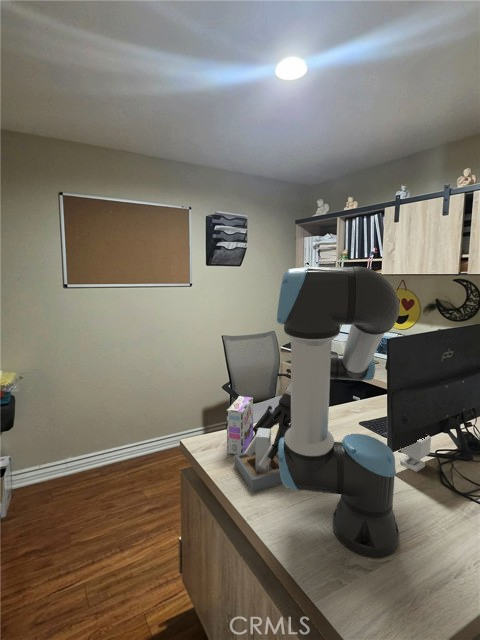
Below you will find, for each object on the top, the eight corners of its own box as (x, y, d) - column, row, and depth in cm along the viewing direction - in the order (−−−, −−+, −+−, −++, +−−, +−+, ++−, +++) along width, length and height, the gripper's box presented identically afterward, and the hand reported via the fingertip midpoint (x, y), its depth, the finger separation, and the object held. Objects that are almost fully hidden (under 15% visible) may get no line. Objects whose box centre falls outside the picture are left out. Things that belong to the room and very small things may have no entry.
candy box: (242, 457, 113) (242, 412, 111) (226, 454, 115) (225, 409, 113) (254, 437, 126) (253, 396, 124) (239, 435, 128) (238, 395, 125)
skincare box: (269, 474, 101) (269, 438, 99) (255, 472, 101) (255, 436, 100) (271, 462, 106) (271, 428, 105) (258, 461, 107) (257, 427, 105)
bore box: (294, 479, 101) (294, 468, 100) (252, 492, 95) (252, 480, 95) (272, 456, 113) (272, 445, 113) (234, 466, 108) (234, 455, 107)
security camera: (429, 465, 107) (431, 436, 105) (417, 472, 103) (419, 443, 102) (409, 456, 112) (411, 428, 111) (398, 463, 108) (400, 434, 107)
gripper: (322, 415, 101) (281, 482, 95) (280, 395, 118) (243, 451, 112) (310, 403, 98) (267, 472, 91) (269, 384, 114) (229, 441, 108)
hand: (254, 460), depth 101 cm, fingers closed on skincare box, 7 cm apart
